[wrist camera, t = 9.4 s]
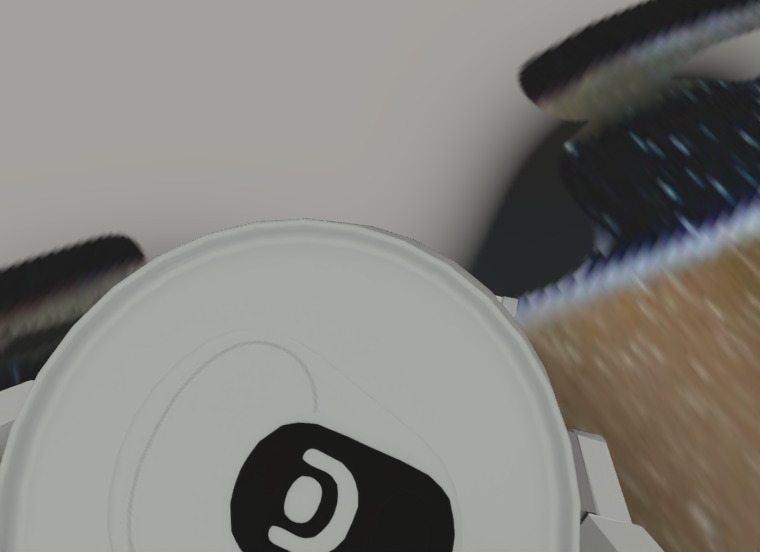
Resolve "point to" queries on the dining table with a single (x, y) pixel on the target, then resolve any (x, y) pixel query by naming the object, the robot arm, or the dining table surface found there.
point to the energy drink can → (292, 409)
